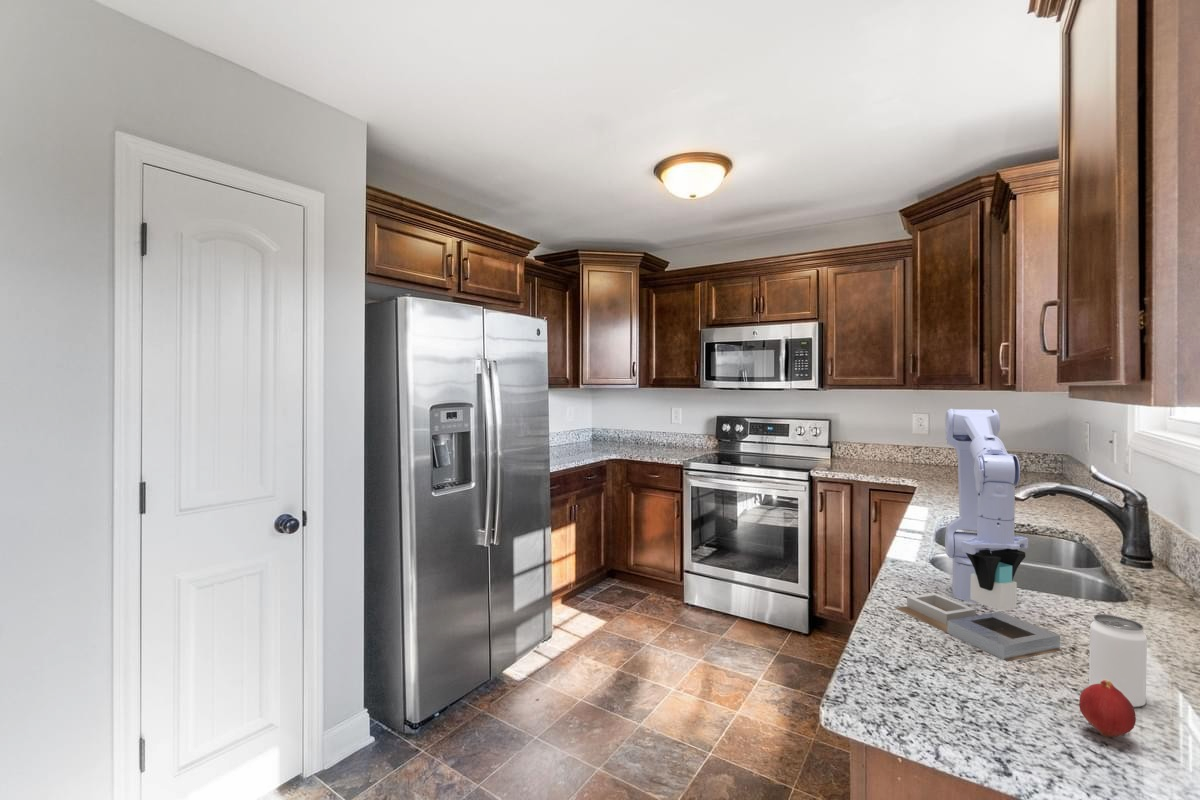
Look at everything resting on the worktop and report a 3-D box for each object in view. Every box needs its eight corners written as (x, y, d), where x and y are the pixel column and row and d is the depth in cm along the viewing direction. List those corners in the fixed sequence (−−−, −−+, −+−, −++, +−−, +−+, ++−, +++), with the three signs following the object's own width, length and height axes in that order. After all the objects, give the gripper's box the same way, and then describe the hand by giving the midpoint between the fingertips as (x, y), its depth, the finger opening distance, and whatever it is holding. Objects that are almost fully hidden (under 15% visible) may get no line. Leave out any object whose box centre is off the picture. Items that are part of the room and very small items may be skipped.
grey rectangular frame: (934, 602, 120) (934, 592, 120) (975, 620, 111) (975, 609, 111) (907, 606, 118) (907, 596, 118) (946, 625, 109) (946, 614, 109)
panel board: (944, 604, 121) (944, 600, 121) (1062, 654, 98) (1062, 649, 98) (895, 611, 117) (895, 608, 117) (1006, 665, 94) (1007, 661, 94)
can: (1157, 711, 81) (1159, 632, 81) (1107, 706, 82) (1109, 628, 82) (1125, 687, 87) (1126, 614, 87) (1079, 683, 89) (1080, 611, 88)
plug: (985, 596, 107) (986, 557, 107) (1016, 608, 101) (1017, 566, 101) (970, 599, 106) (970, 558, 106) (1000, 611, 100) (1001, 568, 100)
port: (999, 623, 109) (1000, 611, 109) (1059, 648, 99) (1060, 635, 99) (947, 632, 105) (947, 620, 105) (1004, 660, 95) (1004, 645, 95)
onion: (1080, 717, 79) (1081, 664, 79) (1135, 735, 75) (1136, 679, 75) (1077, 735, 75) (1077, 679, 75) (1135, 755, 71) (1136, 696, 71)
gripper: (987, 524, 97) (986, 599, 97) (1045, 519, 101) (1044, 590, 101) (952, 516, 104) (951, 585, 104) (1007, 511, 108) (1006, 578, 108)
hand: (994, 587), depth 103 cm, fingers closed on plug, 4 cm apart
